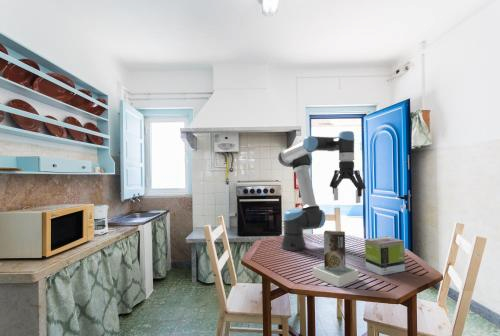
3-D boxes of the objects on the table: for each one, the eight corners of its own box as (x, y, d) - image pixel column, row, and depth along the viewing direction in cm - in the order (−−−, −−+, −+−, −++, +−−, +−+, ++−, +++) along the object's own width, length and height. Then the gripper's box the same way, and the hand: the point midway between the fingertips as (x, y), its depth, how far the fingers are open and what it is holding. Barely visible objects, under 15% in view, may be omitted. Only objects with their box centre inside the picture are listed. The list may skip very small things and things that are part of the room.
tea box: (388, 264, 139) (388, 235, 139) (405, 271, 130) (405, 240, 130) (364, 268, 134) (364, 238, 134) (381, 276, 125) (380, 243, 125)
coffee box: (345, 266, 125) (345, 231, 125) (345, 271, 119) (345, 234, 119) (324, 264, 128) (324, 229, 128) (323, 269, 122) (323, 233, 122)
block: (312, 276, 125) (312, 267, 125) (332, 269, 133) (332, 260, 133) (338, 287, 113) (338, 276, 113) (358, 279, 121) (358, 269, 121)
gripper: (323, 161, 152) (323, 199, 152) (363, 160, 131) (363, 204, 132) (331, 161, 156) (332, 198, 156) (372, 160, 136) (372, 203, 136)
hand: (346, 201), depth 144 cm, fingers open, 13 cm apart
